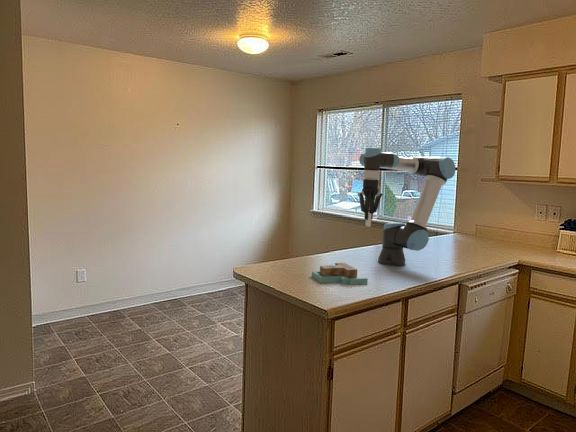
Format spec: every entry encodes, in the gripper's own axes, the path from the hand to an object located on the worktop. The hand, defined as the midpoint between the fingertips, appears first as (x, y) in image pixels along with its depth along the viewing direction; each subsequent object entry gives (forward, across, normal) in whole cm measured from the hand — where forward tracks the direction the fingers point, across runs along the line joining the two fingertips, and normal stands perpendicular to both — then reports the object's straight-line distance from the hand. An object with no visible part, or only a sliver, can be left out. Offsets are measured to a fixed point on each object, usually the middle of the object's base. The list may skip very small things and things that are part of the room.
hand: (367, 226), depth 215 cm
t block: (+25, +19, +6) cm, 31 cm away
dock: (+24, +18, +6) cm, 31 cm away
